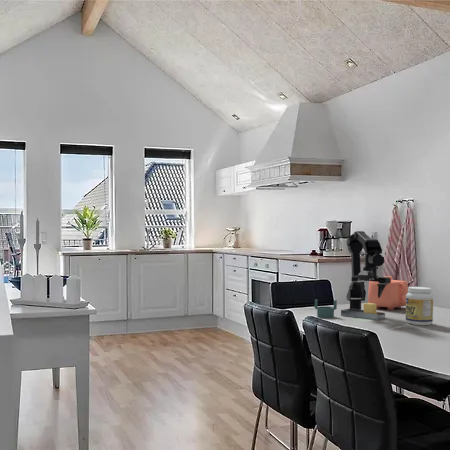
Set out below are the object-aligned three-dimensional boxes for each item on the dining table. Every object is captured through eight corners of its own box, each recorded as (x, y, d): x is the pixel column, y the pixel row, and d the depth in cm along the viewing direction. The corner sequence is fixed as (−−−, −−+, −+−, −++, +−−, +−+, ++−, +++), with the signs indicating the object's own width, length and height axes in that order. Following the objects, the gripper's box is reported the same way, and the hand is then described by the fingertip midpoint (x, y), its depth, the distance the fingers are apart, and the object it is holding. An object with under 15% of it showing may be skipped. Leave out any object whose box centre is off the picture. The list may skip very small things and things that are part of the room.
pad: (357, 319, 293) (357, 318, 293) (374, 321, 287) (374, 320, 287) (347, 321, 287) (347, 320, 287) (364, 323, 281) (364, 322, 281)
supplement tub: (400, 322, 286) (400, 286, 286) (420, 321, 291) (421, 285, 291) (417, 326, 275) (417, 289, 275) (438, 325, 280) (439, 288, 279)
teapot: (386, 303, 355) (386, 273, 355) (421, 308, 338) (421, 276, 338) (361, 307, 338) (362, 275, 338) (397, 311, 321) (397, 278, 321)
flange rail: (350, 314, 308) (350, 308, 308) (385, 319, 294) (385, 312, 294) (340, 316, 301) (341, 310, 301) (376, 321, 288) (376, 314, 288)
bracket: (338, 318, 295) (338, 300, 295) (323, 319, 291) (323, 301, 291) (326, 316, 303) (326, 298, 303) (311, 317, 298) (312, 299, 298)
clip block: (368, 312, 298) (368, 302, 298) (376, 313, 295) (376, 303, 295) (363, 313, 295) (363, 303, 295) (371, 314, 292) (371, 304, 292)
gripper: (345, 264, 295) (345, 296, 295) (380, 266, 283) (379, 299, 283) (357, 263, 303) (357, 294, 303) (391, 265, 291) (391, 298, 291)
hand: (370, 296), depth 295 cm, fingers open, 9 cm apart
